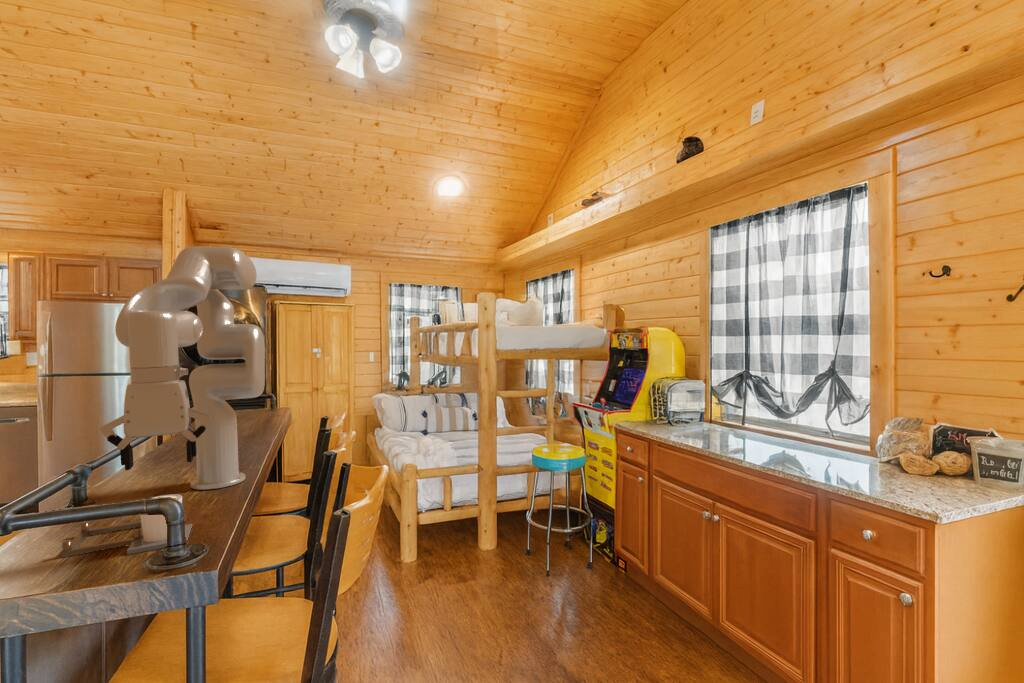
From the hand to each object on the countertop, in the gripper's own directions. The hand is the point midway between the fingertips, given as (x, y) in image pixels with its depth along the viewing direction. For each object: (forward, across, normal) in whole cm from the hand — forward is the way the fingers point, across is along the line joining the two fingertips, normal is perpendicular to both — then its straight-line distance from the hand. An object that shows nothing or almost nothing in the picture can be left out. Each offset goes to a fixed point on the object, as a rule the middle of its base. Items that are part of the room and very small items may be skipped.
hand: (160, 464), depth 94 cm
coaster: (+14, 0, +1) cm, 14 cm away
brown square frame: (+14, +9, -5) cm, 18 cm away
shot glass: (+14, 0, +1) cm, 14 cm away
